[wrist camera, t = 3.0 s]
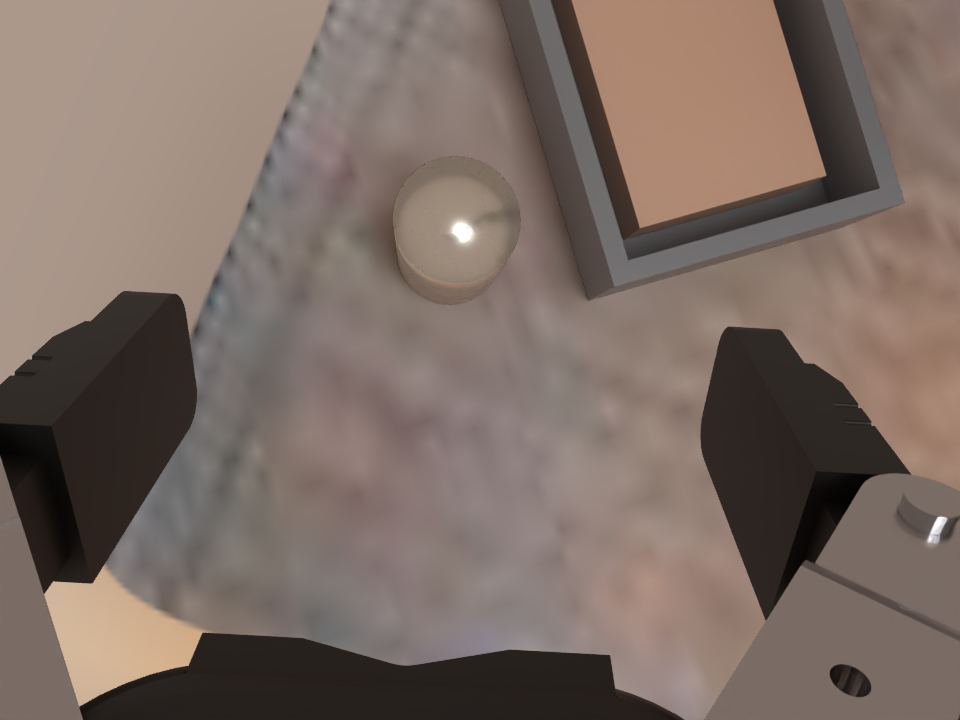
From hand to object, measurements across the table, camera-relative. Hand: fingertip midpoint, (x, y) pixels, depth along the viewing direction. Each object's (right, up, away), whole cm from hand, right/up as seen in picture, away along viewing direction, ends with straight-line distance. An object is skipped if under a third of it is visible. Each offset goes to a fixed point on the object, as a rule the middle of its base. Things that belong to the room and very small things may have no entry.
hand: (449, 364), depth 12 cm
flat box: (+11, +14, +30) cm, 35 cm away
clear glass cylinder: (-1, +6, +30) cm, 30 cm away
